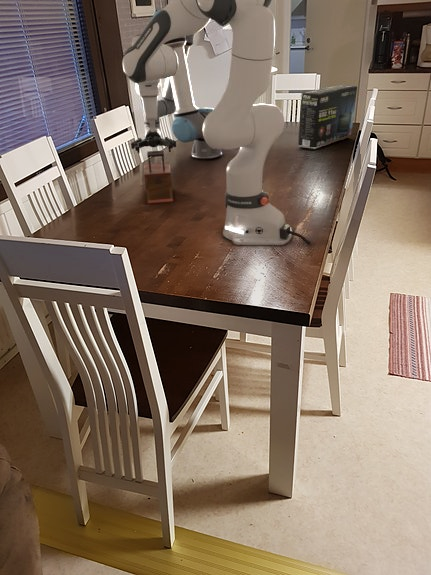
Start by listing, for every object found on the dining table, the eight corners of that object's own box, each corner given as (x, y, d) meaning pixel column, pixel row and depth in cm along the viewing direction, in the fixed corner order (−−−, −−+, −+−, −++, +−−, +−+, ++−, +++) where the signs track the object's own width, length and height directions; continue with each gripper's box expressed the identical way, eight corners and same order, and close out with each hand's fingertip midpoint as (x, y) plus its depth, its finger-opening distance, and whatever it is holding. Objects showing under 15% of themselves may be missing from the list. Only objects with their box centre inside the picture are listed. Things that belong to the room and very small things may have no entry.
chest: (173, 201, 177) (170, 174, 172) (147, 203, 176) (144, 176, 171) (171, 189, 189) (169, 164, 184) (147, 191, 188) (144, 166, 183)
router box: (314, 151, 231) (318, 94, 217) (296, 148, 237) (299, 92, 224) (352, 138, 251) (358, 85, 238) (335, 135, 258) (340, 83, 245)
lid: (170, 175, 171) (168, 152, 167) (144, 177, 171) (141, 154, 166) (169, 164, 184) (167, 142, 179) (144, 166, 183) (142, 144, 178)
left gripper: (179, 144, 221) (182, 156, 204) (127, 146, 219) (126, 159, 201) (178, 128, 217) (182, 139, 200) (125, 130, 215) (124, 142, 197)
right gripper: (139, 83, 167) (144, 123, 174) (139, 91, 149) (144, 135, 156) (157, 82, 167) (160, 122, 174) (158, 90, 150) (162, 134, 157)
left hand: (154, 149), depth 200 cm, fingers open, 13 cm apart
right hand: (152, 128), depth 165 cm, fingers open, 8 cm apart
